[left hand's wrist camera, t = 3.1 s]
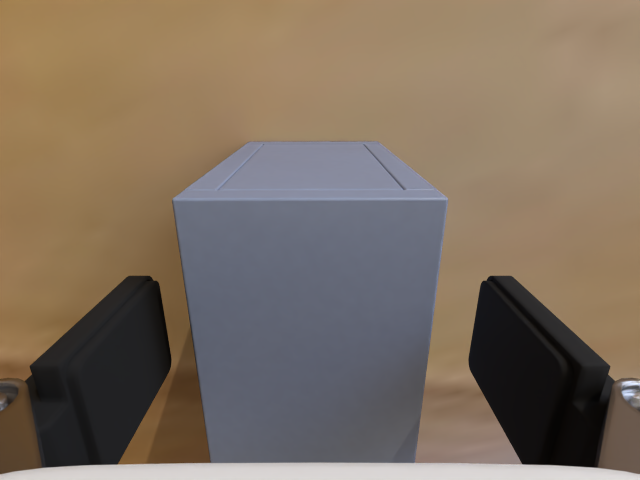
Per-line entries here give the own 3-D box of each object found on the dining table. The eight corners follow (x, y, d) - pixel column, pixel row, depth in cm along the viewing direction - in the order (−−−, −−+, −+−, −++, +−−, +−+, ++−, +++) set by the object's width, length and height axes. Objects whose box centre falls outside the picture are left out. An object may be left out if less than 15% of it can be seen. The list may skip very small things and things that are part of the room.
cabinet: (362, 438, 25) (390, 654, 16) (268, 439, 25) (238, 655, 15) (378, 141, 18) (449, 197, 8) (248, 141, 18) (170, 198, 8)
